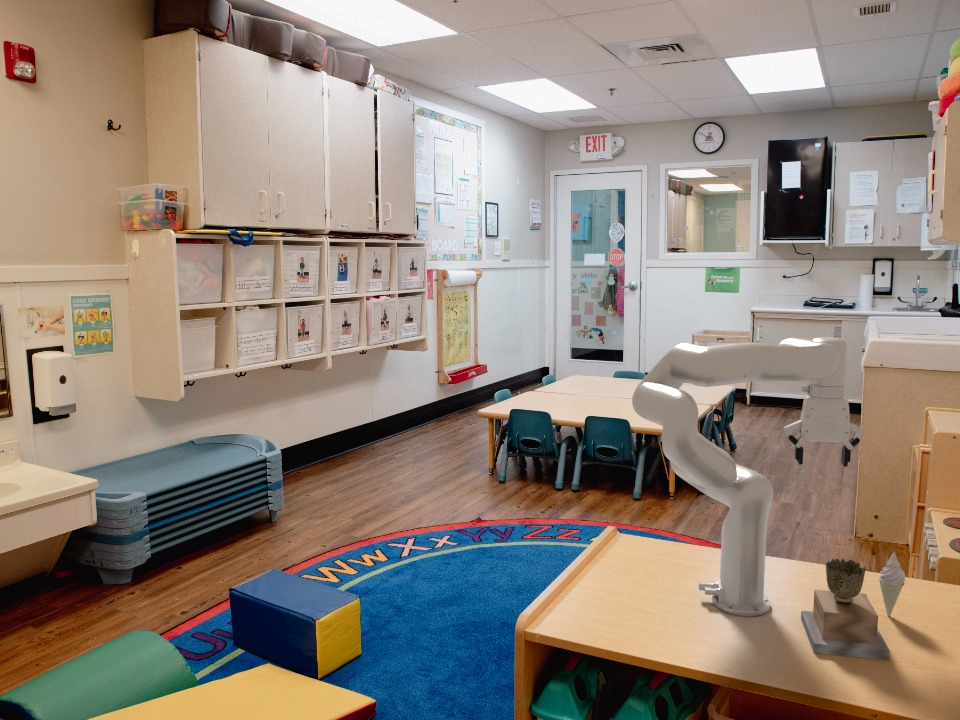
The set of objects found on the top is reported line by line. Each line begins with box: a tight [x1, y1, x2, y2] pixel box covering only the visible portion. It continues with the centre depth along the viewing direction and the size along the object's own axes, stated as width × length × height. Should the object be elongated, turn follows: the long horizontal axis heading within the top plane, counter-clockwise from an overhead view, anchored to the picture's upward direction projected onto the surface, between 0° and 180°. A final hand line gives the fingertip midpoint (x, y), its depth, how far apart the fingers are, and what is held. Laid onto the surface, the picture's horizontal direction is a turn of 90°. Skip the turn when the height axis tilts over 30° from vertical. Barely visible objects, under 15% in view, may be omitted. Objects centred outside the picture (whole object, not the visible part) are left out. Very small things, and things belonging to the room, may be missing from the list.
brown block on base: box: [800, 589, 891, 661], centre depth 162 cm, size 14×14×8 cm
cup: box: [825, 558, 867, 605], centre depth 161 cm, size 8×7×8 cm
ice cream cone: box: [877, 551, 906, 617], centre depth 170 cm, size 5×5×15 cm
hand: (821, 463), depth 181 cm, fingers open, 9 cm apart
